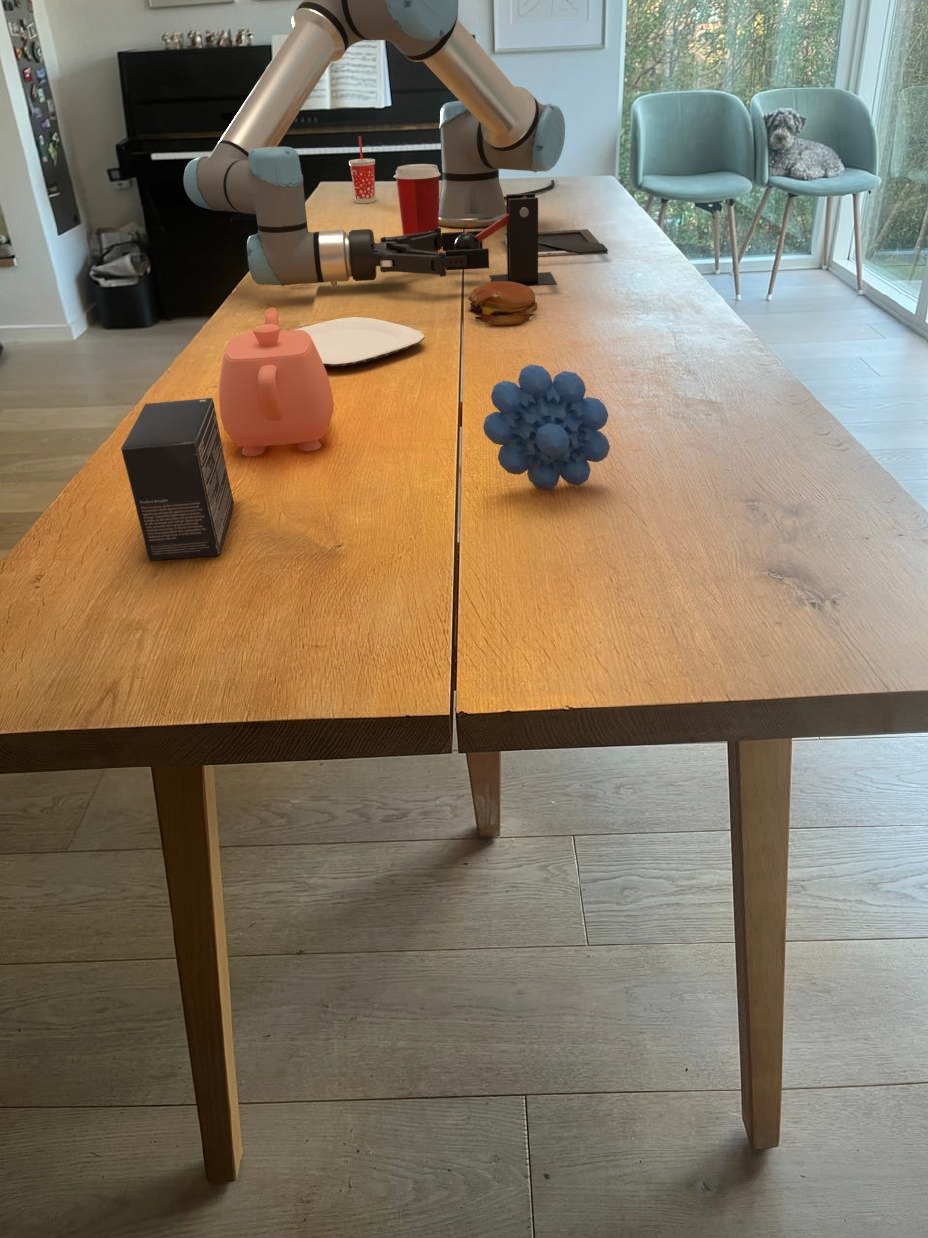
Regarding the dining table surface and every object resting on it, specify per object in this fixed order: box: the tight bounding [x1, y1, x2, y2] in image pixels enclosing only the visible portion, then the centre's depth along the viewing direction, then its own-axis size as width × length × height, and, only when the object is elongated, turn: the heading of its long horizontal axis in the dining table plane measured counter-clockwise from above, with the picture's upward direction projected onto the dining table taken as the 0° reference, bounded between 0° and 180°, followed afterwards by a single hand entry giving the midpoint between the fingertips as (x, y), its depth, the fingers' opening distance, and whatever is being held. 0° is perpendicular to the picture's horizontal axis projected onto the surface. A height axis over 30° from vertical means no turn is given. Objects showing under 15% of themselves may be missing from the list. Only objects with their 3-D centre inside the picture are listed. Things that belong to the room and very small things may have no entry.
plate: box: [295, 316, 426, 367], centre depth 132 cm, size 18×18×2 cm
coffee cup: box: [393, 163, 442, 252], centre depth 177 cm, size 8×8×15 cm
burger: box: [467, 281, 538, 327], centre depth 142 cm, size 10×9×5 cm
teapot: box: [218, 307, 335, 457], centre depth 104 cm, size 20×12×12 cm, turn 8°
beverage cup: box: [348, 135, 376, 204], centre depth 231 cm, size 6×6×14 cm
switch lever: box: [454, 196, 526, 250], centre depth 153 cm, size 13×4×4 cm, turn 93°
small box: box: [120, 397, 235, 561], centre depth 85 cm, size 11×6×10 cm, turn 5°
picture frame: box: [504, 228, 609, 258], centre depth 180 cm, size 16×2×21 cm
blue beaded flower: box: [482, 363, 611, 491], centre depth 89 cm, size 12×7×12 cm, turn 95°
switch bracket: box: [488, 193, 558, 287], centre depth 154 cm, size 10×8×14 cm
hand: (485, 248), depth 154 cm, fingers open, 13 cm apart
